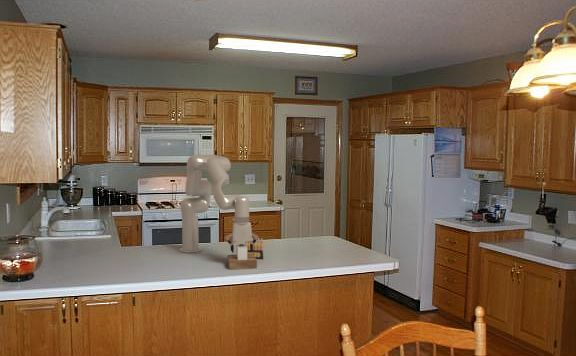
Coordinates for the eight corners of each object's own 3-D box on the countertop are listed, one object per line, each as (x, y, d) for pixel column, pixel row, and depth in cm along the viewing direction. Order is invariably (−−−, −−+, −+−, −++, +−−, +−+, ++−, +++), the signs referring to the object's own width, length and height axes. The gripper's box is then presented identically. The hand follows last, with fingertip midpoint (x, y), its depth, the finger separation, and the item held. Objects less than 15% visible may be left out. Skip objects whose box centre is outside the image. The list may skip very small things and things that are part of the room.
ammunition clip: (244, 258, 284) (244, 237, 283) (244, 258, 286) (244, 237, 285) (263, 259, 283) (263, 238, 282) (263, 258, 285) (263, 237, 284)
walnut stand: (227, 262, 276) (227, 254, 275) (253, 261, 278) (253, 254, 278) (229, 269, 260) (229, 261, 260) (256, 268, 262) (256, 260, 262)
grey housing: (237, 259, 264) (237, 247, 263) (236, 256, 273) (236, 243, 272) (247, 259, 265) (247, 246, 264) (245, 255, 274) (245, 243, 273)
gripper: (225, 221, 262) (225, 254, 263) (259, 220, 265) (259, 253, 266) (225, 219, 269) (225, 251, 271) (257, 218, 273) (257, 250, 274)
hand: (241, 252), depth 269 cm, fingers open, 9 cm apart
